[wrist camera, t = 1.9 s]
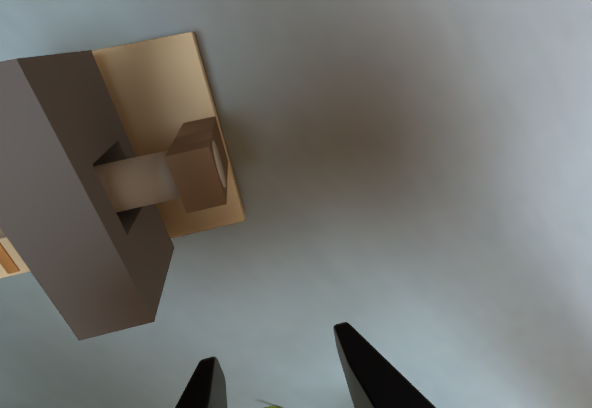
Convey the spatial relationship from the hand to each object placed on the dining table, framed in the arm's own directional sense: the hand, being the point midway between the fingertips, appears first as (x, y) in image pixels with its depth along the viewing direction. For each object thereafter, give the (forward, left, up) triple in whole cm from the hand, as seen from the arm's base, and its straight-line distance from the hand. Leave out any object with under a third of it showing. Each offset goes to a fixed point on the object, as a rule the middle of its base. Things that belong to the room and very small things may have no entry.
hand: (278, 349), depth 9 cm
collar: (+3, +7, -10) cm, 12 cm away
